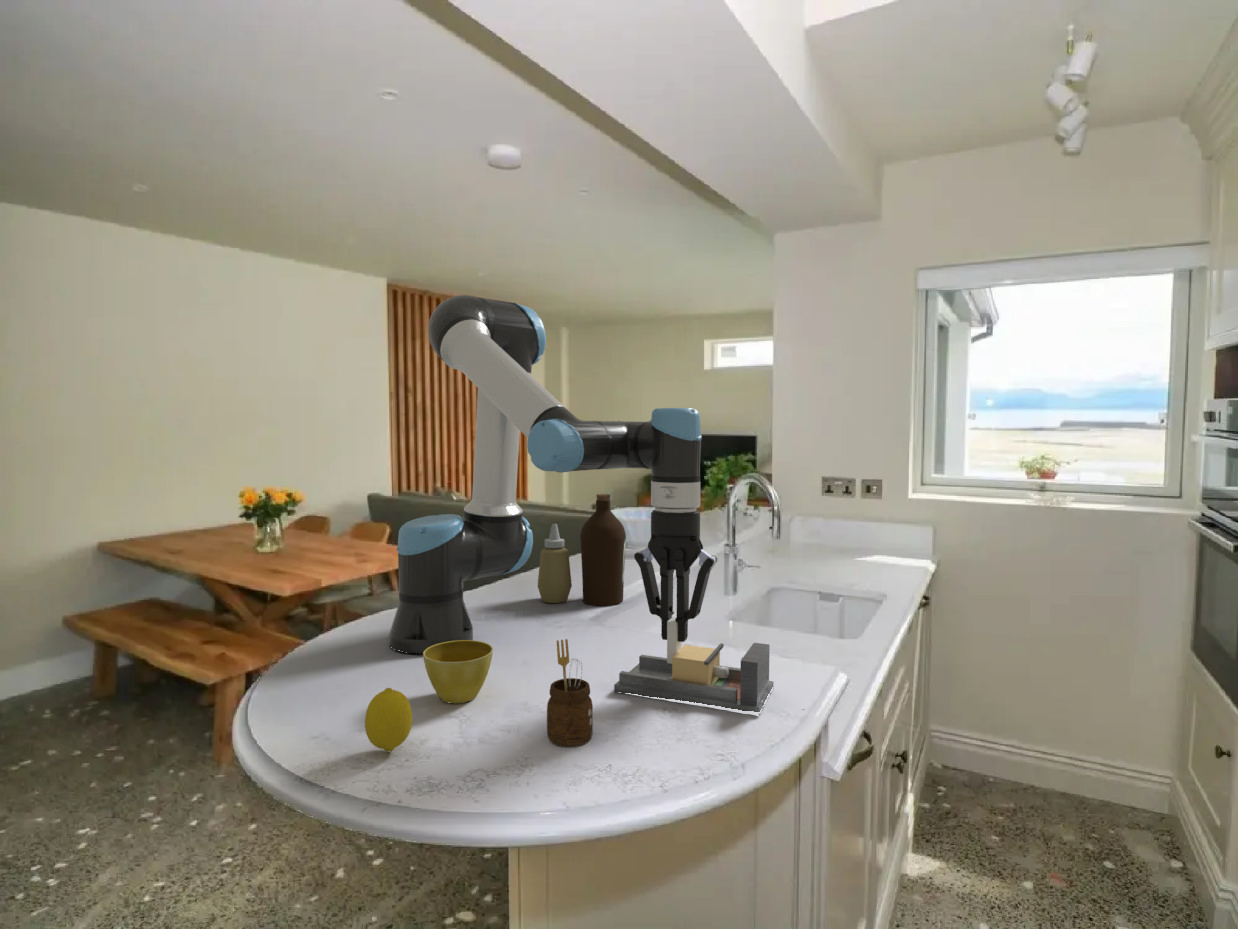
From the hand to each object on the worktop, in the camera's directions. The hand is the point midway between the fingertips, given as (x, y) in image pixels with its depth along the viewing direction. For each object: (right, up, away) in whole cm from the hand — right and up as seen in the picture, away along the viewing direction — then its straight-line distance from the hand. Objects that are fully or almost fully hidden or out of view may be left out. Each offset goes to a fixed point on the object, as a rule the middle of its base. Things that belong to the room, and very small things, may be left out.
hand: (674, 660), depth 105 cm
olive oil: (-12, -2, +54) cm, 55 cm away
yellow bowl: (-32, -5, -4) cm, 33 cm away
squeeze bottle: (-24, -2, +54) cm, 59 cm away
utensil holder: (-15, -5, -17) cm, 23 cm away
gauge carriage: (+4, -3, -2) cm, 5 cm away
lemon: (-37, -5, -21) cm, 43 cm away
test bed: (+3, -4, -1) cm, 5 cm away
